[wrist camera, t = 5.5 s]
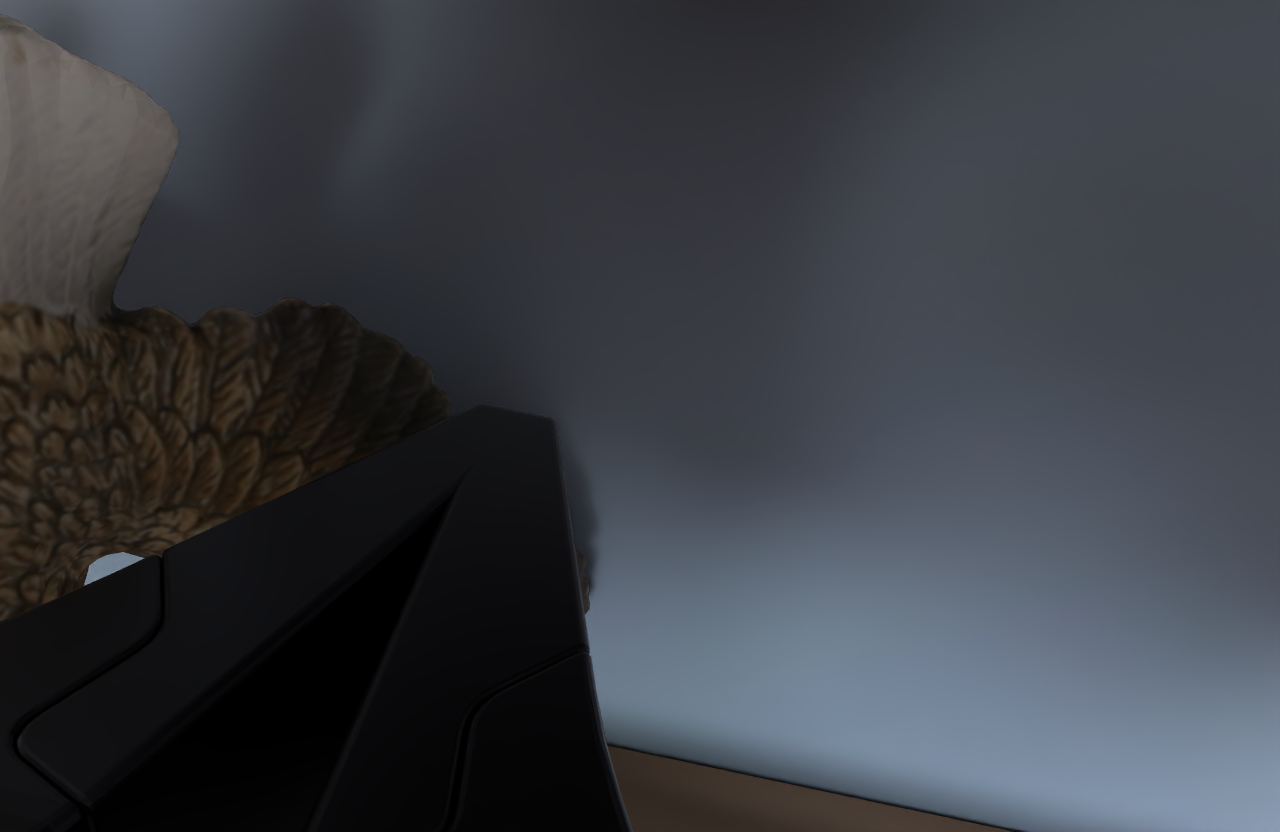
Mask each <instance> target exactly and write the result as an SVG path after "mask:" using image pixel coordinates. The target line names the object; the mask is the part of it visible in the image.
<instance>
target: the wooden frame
mask: <svg viewBox="0 0 1280 832" xmlns="http://www.w3.org/2000/svg"><path fill="white" fill-rule="evenodd" d="M607 746H608V745H607ZM608 750H609V754H610V757H611V761H612V764H613V768H614V771H615V775H616V778H617V782H618V785H619V789H620V793H621V796H622V800H623V803H624V806H625V809H626V812H627V815H628V818H629V821H630V824H631V827H632V830H633V832H1013V831H1008V830H1003V829H999V828H994V827H989V826H985V825H980V824H975V823H970V822H966V821H961V820H956V819H952V818H947V817H942V816H937V815H933V814H928V813H923V812H919V811H914V810H909V809H904V808H900V807H895V806H890V805H886V804H881V803H876V802H871V801H867V800H862V799H857V798H853V797H848V796H843V795H838V794H834V793H829V792H824V791H820V790H815V789H810V788H806V787H801V786H796V785H791V784H787V783H782V782H777V781H773V780H768V779H763V778H758V777H754V776H749V775H744V774H740V773H735V772H730V771H725V770H721V769H716V768H711V767H707V766H702V765H697V764H692V763H688V762H683V761H678V760H674V759H669V758H664V757H659V756H655V755H650V754H645V753H641V752H636V751H631V750H626V749H622V748H617V747H612V746H608Z"/></svg>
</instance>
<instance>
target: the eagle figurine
mask: <svg viewBox="0 0 1280 832" xmlns="http://www.w3.org/2000/svg"><path fill="white" fill-rule="evenodd" d="M178 139H179V133H178V130H177V128H176V126H175V124H174V122H173V120H172V119H171V117H170V115H169V113H168V112H167V111H166V109H164V108H162V107H160V106H158V105H156V103H155V102H154V101H153V100H152V99H151V98H150V96H149V95H148V94H146V93H145V92H144V91H143V90H141V89H140V88H139V87H138V86H136V85H135V84H134V83H132V82H131V81H129V80H127V79H126V78H124V77H122V76H119V75H117V74H114V73H112V72H110V71H108V70H106V69H103V68H101V67H99V66H97V65H95V64H92V63H90V62H88V61H86V60H84V59H82V58H80V57H79V56H77V55H73V54H71V53H69V52H68V51H66V50H64V49H63V48H61V47H60V46H59V45H58V44H56V43H54V42H52V41H50V40H48V39H45V38H44V37H43V36H41V35H40V34H39V33H38V32H37V31H36V30H34V29H32V28H30V27H28V26H26V25H24V24H23V23H21V22H19V21H18V20H16V19H13V18H10V17H7V16H4V15H2V14H0V621H2V620H5V619H7V618H10V617H12V616H15V615H17V614H20V613H22V612H25V611H27V610H30V609H32V608H35V607H37V606H40V605H42V604H44V603H47V602H49V601H51V600H53V599H56V598H58V597H60V596H62V595H65V594H67V593H69V592H72V591H74V590H76V589H78V588H81V587H83V586H84V583H85V579H86V576H87V572H88V568H89V565H90V564H92V563H93V562H94V561H95V560H97V559H99V558H101V557H103V556H105V555H109V554H114V553H120V552H125V553H129V554H132V555H136V556H140V557H143V558H147V557H149V556H151V555H158V556H160V557H161V560H162V552H163V551H164V550H165V549H167V548H169V547H171V546H173V545H175V544H178V543H180V542H182V541H184V540H186V539H188V538H191V537H193V536H195V535H197V534H199V533H201V532H204V531H206V530H208V529H210V528H212V527H214V526H217V525H219V524H221V523H223V522H225V521H227V520H229V519H232V518H234V517H236V516H238V515H240V514H242V513H245V512H247V511H249V510H251V509H253V508H255V507H257V506H260V505H262V504H264V503H266V502H268V501H270V500H273V499H275V498H277V497H279V496H281V495H283V494H285V493H288V492H290V491H292V490H294V489H296V488H298V487H301V486H303V485H305V484H307V483H309V482H311V481H313V480H316V479H318V478H320V477H322V476H324V475H326V474H329V473H331V472H333V471H335V470H337V469H339V468H341V467H344V466H346V465H348V464H350V463H352V462H354V461H356V460H359V459H361V458H363V457H365V456H367V455H369V454H372V453H374V452H376V451H378V450H380V449H382V448H384V447H387V446H389V445H391V444H393V443H395V442H397V441H400V440H402V439H404V438H406V437H408V436H410V435H412V434H415V433H417V432H419V431H421V430H423V429H425V428H428V427H430V426H432V425H434V424H436V423H438V422H440V421H443V420H445V419H447V418H449V415H450V409H451V402H450V399H449V397H448V395H447V394H446V393H445V392H443V391H441V390H439V389H438V388H437V387H436V385H435V384H434V379H433V373H432V370H431V367H430V366H429V365H428V364H427V363H426V362H425V361H424V360H423V359H421V358H418V357H415V356H412V355H411V354H409V353H408V352H406V351H405V349H404V348H403V346H402V345H401V344H400V343H399V342H397V341H396V340H395V339H393V338H391V337H389V336H387V335H385V334H382V333H378V332H374V331H370V330H367V329H364V328H362V326H361V325H360V324H359V323H358V322H357V320H356V319H355V318H354V317H353V316H352V315H351V314H350V313H349V312H347V311H346V310H345V309H344V308H342V307H340V306H337V305H335V304H332V303H330V302H329V303H325V304H323V305H321V306H318V307H313V306H311V305H309V304H308V303H306V302H305V301H302V300H299V299H296V298H283V299H281V300H280V301H278V302H277V303H275V304H274V305H273V306H272V307H270V308H269V309H268V310H267V311H265V312H262V313H259V314H257V315H253V314H251V313H248V312H246V311H243V310H240V309H234V308H225V307H222V308H215V309H212V310H210V311H208V312H207V313H206V314H205V315H204V316H202V317H201V318H200V319H199V320H198V321H197V322H196V323H192V324H190V323H188V322H186V321H184V320H182V319H181V318H180V317H178V316H177V315H175V314H174V313H172V312H171V311H169V310H166V309H164V308H162V307H158V306H155V307H147V308H143V309H140V310H137V311H127V310H122V309H119V308H117V307H116V306H115V304H114V302H113V300H112V299H113V294H114V288H115V283H116V280H117V279H118V277H119V276H120V274H121V273H122V271H123V269H124V267H125V264H126V262H127V260H128V257H129V254H130V250H131V248H132V246H133V244H134V243H135V241H136V239H137V238H138V235H139V231H140V228H141V225H142V224H143V222H144V220H145V219H146V215H147V212H148V211H149V209H150V208H151V203H152V201H153V200H154V198H155V197H156V195H157V193H158V191H159V189H160V187H161V184H162V182H163V181H164V179H165V178H166V177H167V175H168V172H169V168H170V165H171V163H172V161H173V158H174V156H175V153H176V151H177V148H178ZM575 551H576V558H577V564H578V571H579V578H580V585H581V592H582V599H583V606H584V613H585V614H586V612H587V611H588V610H589V608H590V602H589V599H588V592H589V584H588V580H587V578H586V577H584V576H582V573H583V572H584V571H585V569H586V566H587V561H586V559H585V558H584V555H583V554H582V553H581V552H580V551H578V550H577V549H575Z"/></svg>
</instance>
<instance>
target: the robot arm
mask: <svg viewBox="0 0 1280 832" xmlns="http://www.w3.org/2000/svg"><path fill="white" fill-rule="evenodd" d="M589 654H590V648H589V641H588V634H587V627H586V620H585V613H584V606H583V599H582V592H581V585H580V578H579V571H578V564H577V558H576V551H575V544H574V537H573V530H572V523H571V516H570V509H569V502H568V495H567V488H566V481H565V474H564V467H563V460H562V453H561V447H560V440H559V433H558V426H557V423H556V421H555V420H554V419H553V418H551V417H548V416H543V415H538V414H533V413H528V412H523V411H518V410H514V409H509V408H504V407H499V406H495V405H490V404H478V405H475V406H473V407H471V408H468V409H466V410H464V411H462V412H460V413H458V414H456V415H453V416H451V417H449V418H447V419H445V420H443V421H440V422H438V423H436V424H434V425H432V426H430V427H428V428H425V429H423V430H421V431H419V432H417V433H415V434H412V435H410V436H408V437H406V438H404V439H402V440H400V441H397V442H395V443H393V444H391V445H389V446H387V447H384V448H382V449H380V450H378V451H376V452H374V453H372V454H369V455H367V456H365V457H363V458H361V459H359V460H356V461H354V462H352V463H350V464H348V465H346V466H344V467H341V468H339V469H337V470H335V471H333V472H331V473H329V474H326V475H324V476H322V477H320V478H318V479H316V480H313V481H311V482H309V483H307V484H305V485H303V486H301V487H298V488H296V489H294V490H292V491H290V492H288V493H285V494H283V495H281V496H279V497H277V498H275V499H273V500H270V501H268V502H266V503H264V504H262V505H260V506H257V507H255V508H253V509H251V510H249V511H247V512H245V513H242V514H240V515H238V516H236V517H234V518H232V519H229V520H227V521H225V522H223V523H221V524H219V525H217V526H214V527H212V528H210V529H208V530H206V531H204V532H201V533H199V534H197V535H195V536H193V537H191V538H188V539H186V540H184V541H182V542H180V543H178V544H175V545H173V546H171V547H169V548H167V549H165V550H164V551H163V552H162V560H161V557H160V556H158V555H151V556H149V557H147V558H145V559H143V560H140V561H138V562H136V563H134V564H132V565H130V566H127V567H125V568H123V569H121V570H119V571H117V572H115V573H112V574H110V575H108V576H106V577H103V578H101V579H99V580H97V581H94V582H92V583H90V584H87V585H85V586H83V587H81V588H78V589H76V590H74V591H72V592H69V593H67V594H65V595H62V596H60V597H58V598H56V599H53V600H51V601H49V602H47V603H44V604H42V605H40V606H37V607H35V608H32V609H30V610H27V611H25V612H22V613H20V614H17V615H15V616H12V617H10V618H7V619H5V620H2V621H0V832H633V830H632V827H631V824H630V821H629V818H628V815H627V812H626V809H625V806H624V803H623V800H622V796H621V793H620V789H619V785H618V782H617V778H616V775H615V771H614V768H613V764H612V761H611V757H610V754H609V750H608V746H607V743H606V738H605V733H604V728H603V723H602V718H601V713H600V707H599V702H598V697H597V692H596V686H595V679H594V672H593V665H592V658H591V656H590V655H589Z"/></svg>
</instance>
